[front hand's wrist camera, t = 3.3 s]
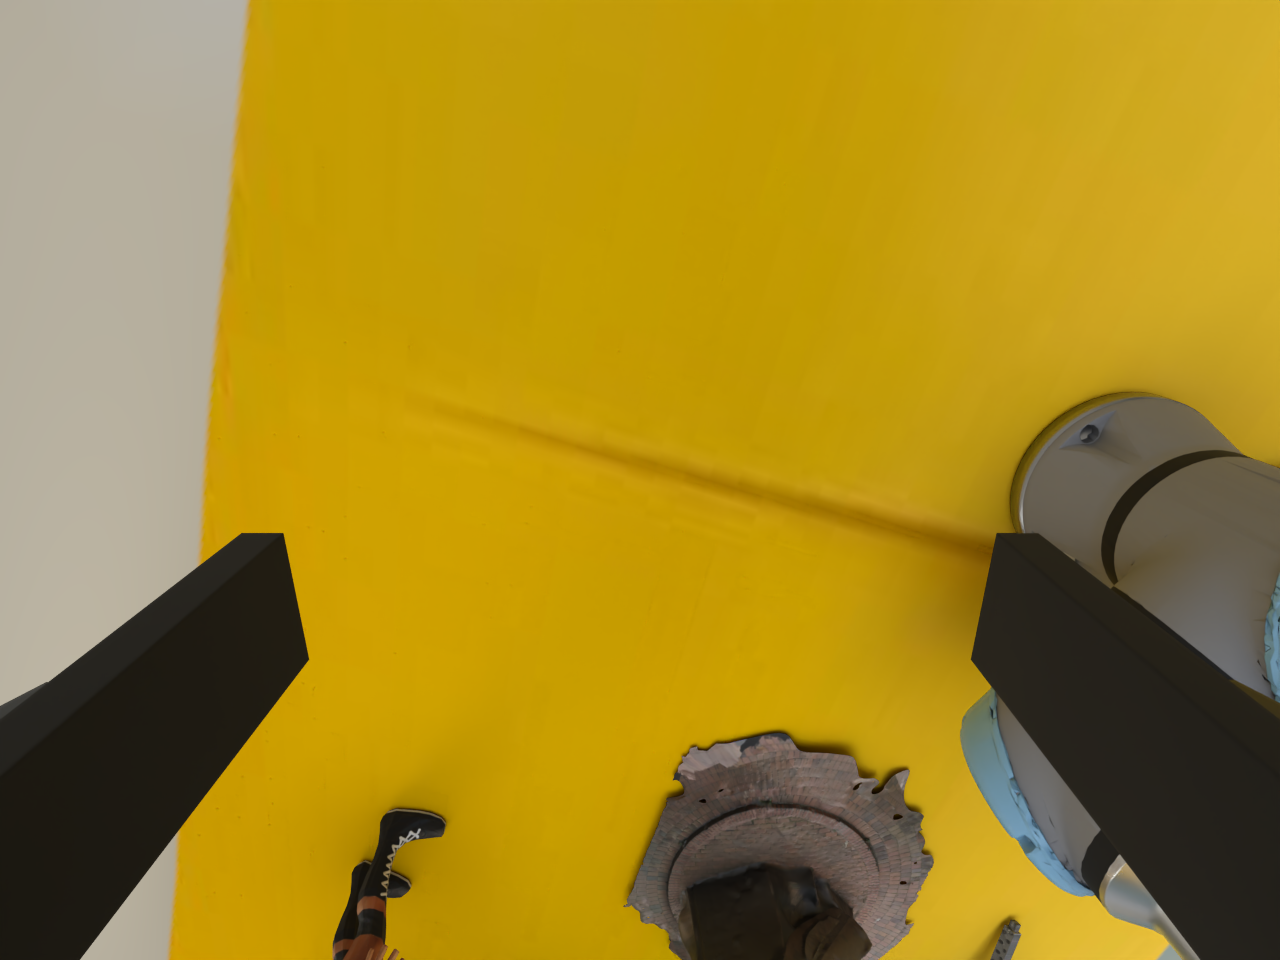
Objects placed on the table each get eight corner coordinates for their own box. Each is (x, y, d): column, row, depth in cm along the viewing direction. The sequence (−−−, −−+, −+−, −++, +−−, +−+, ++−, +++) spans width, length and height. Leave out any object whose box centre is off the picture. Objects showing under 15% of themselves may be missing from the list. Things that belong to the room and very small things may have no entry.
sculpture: (547, 912, 70) (522, 1097, 55) (747, 678, 60) (782, 827, 45) (798, 1026, 77) (836, 1219, 62) (1018, 831, 66) (1127, 1006, 51)
